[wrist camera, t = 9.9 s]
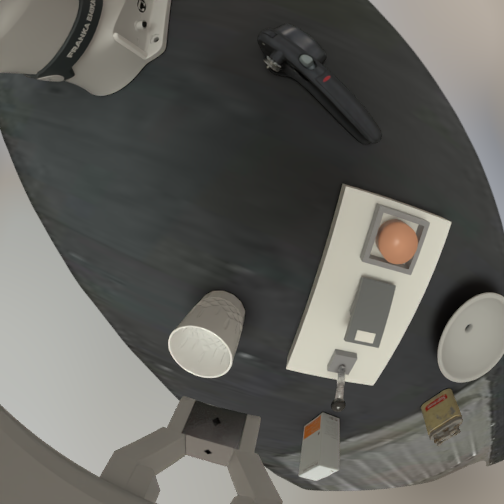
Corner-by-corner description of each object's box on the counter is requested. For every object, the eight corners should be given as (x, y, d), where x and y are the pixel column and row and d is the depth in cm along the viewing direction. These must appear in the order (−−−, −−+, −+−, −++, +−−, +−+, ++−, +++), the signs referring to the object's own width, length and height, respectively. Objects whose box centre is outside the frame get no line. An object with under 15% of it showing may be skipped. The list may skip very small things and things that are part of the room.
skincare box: (322, 410, 44) (320, 465, 32) (339, 417, 44) (340, 470, 33) (302, 425, 46) (297, 476, 35) (320, 432, 46) (317, 481, 35)
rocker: (360, 277, 31) (363, 277, 30) (392, 285, 31) (396, 285, 30) (343, 339, 31) (345, 341, 30) (375, 346, 30) (379, 348, 29)
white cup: (188, 292, 40) (157, 330, 31) (237, 280, 38) (215, 320, 28) (209, 336, 42) (186, 379, 33) (257, 328, 40) (242, 375, 30)
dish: (412, 314, 35) (422, 334, 30) (486, 257, 29) (503, 270, 25) (444, 377, 37) (452, 396, 32) (505, 331, 32) (517, 347, 27)
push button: (382, 214, 28) (388, 219, 26) (415, 225, 28) (423, 230, 26) (370, 251, 30) (375, 258, 28) (403, 260, 29) (409, 268, 27)
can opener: (248, 56, 28) (237, 40, 23) (290, 24, 25) (286, 4, 20) (348, 161, 30) (357, 163, 25) (391, 128, 28) (406, 123, 22)
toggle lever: (338, 362, 34) (333, 408, 29) (350, 364, 33) (346, 410, 28) (333, 368, 35) (328, 412, 30) (345, 370, 35) (341, 414, 30)
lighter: (448, 385, 37) (464, 424, 28) (454, 393, 38) (468, 430, 29) (418, 406, 40) (428, 445, 31) (424, 412, 40) (435, 451, 31)
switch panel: (342, 183, 31) (348, 187, 27) (441, 216, 29) (457, 225, 25) (287, 356, 40) (284, 376, 36) (370, 372, 39) (374, 392, 35)
